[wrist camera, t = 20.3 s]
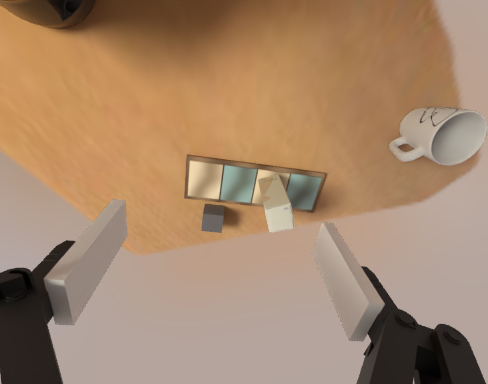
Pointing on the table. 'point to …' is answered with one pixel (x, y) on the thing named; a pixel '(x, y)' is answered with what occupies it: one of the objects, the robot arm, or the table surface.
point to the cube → (213, 218)
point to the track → (248, 182)
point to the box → (276, 204)
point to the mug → (441, 135)
